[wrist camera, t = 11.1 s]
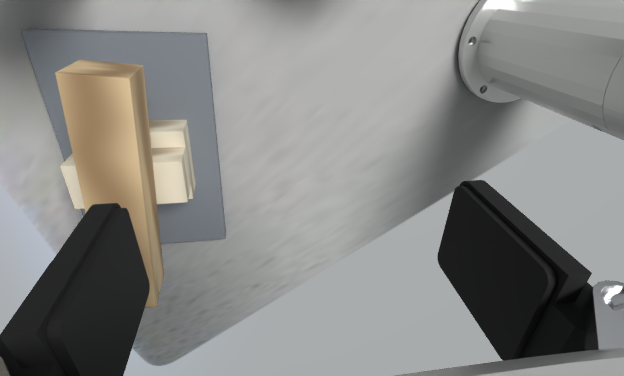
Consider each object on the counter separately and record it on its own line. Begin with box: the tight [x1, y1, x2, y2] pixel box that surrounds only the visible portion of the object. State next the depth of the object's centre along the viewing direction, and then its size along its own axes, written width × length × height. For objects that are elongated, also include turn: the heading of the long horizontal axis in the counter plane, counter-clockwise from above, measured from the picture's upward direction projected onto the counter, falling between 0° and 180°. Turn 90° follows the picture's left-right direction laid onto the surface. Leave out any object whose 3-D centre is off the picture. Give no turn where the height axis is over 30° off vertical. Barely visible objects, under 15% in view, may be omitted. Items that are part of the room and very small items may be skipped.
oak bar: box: [55, 60, 164, 308], centre depth 28 cm, size 4×20×4 cm, turn 172°
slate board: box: [21, 29, 226, 244], centre depth 35 cm, size 14×22×1 cm, turn 177°
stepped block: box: [60, 120, 196, 209], centre depth 32 cm, size 9×7×6 cm
